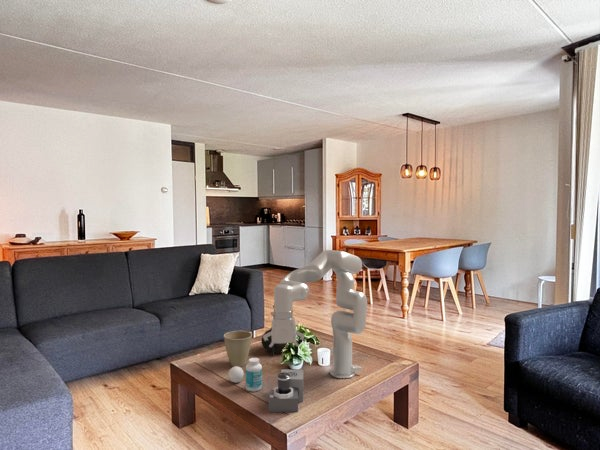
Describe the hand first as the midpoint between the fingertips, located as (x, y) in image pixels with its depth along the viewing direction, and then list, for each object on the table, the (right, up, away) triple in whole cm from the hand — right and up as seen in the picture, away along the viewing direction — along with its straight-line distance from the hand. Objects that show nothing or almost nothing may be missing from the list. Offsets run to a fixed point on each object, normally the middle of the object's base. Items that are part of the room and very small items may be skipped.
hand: (284, 355), depth 161 cm
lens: (0, -16, 0) cm, 16 cm away
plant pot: (-26, -20, +45) cm, 56 cm away
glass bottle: (-7, -19, +64) cm, 68 cm away
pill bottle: (-15, -21, +17) cm, 31 cm away
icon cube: (+3, -22, +10) cm, 24 cm away
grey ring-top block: (0, -22, +1) cm, 22 cm away
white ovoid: (-25, -21, +25) cm, 41 cm away
